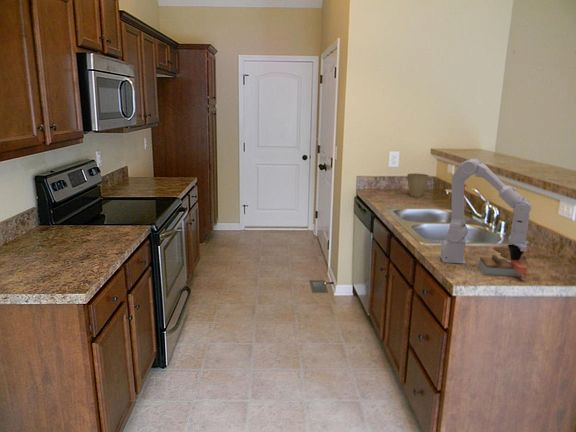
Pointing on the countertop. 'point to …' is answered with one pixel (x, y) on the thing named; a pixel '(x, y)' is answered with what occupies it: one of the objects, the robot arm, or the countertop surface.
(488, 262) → the lid
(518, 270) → the red block
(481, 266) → the gray box
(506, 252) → the wooden fragment
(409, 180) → the plant pot
